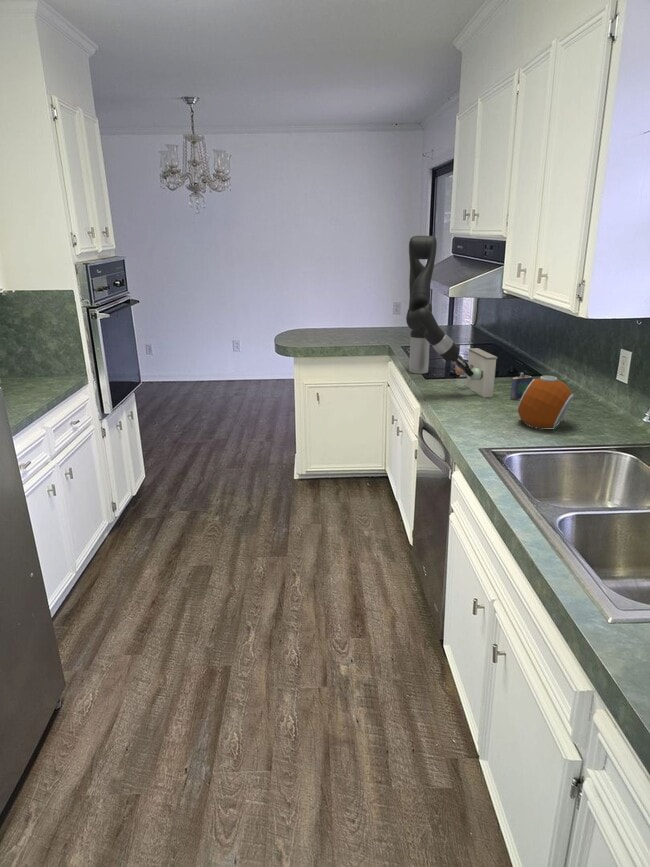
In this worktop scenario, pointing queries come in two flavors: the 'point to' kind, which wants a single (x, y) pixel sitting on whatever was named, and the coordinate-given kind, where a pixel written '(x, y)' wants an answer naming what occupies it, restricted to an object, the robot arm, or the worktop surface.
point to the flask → (519, 385)
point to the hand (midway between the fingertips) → (471, 374)
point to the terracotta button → (461, 372)
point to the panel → (486, 365)
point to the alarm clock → (545, 402)
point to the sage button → (476, 374)
